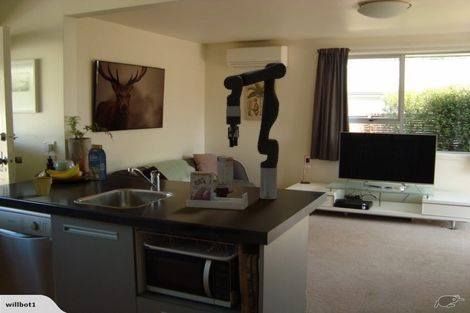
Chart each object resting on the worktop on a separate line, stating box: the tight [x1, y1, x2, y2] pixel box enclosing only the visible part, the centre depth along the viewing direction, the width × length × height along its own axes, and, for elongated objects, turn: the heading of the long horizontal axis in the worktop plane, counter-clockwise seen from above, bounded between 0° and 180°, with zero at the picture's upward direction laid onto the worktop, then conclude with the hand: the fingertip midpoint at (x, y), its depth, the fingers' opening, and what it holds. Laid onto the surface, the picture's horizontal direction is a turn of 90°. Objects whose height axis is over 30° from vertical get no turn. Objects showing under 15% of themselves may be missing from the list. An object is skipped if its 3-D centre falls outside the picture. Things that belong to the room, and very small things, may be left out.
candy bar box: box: [189, 170, 214, 201], centre depth 230 cm, size 11×5×16 cm, turn 74°
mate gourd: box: [213, 172, 230, 198], centre depth 248 cm, size 8×8×15 cm
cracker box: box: [216, 155, 234, 193], centre depth 274 cm, size 14×6×21 cm, turn 22°
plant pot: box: [32, 176, 53, 197], centre depth 261 cm, size 10×10×10 cm
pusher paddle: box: [210, 192, 231, 201], centre depth 229 cm, size 7×9×5 cm
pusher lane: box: [185, 192, 249, 211], centre depth 229 cm, size 9×30×7 cm, turn 76°
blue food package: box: [87, 143, 108, 182], centre depth 316 cm, size 6×12×25 cm, turn 56°
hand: (233, 146), depth 231 cm, fingers open, 8 cm apart
